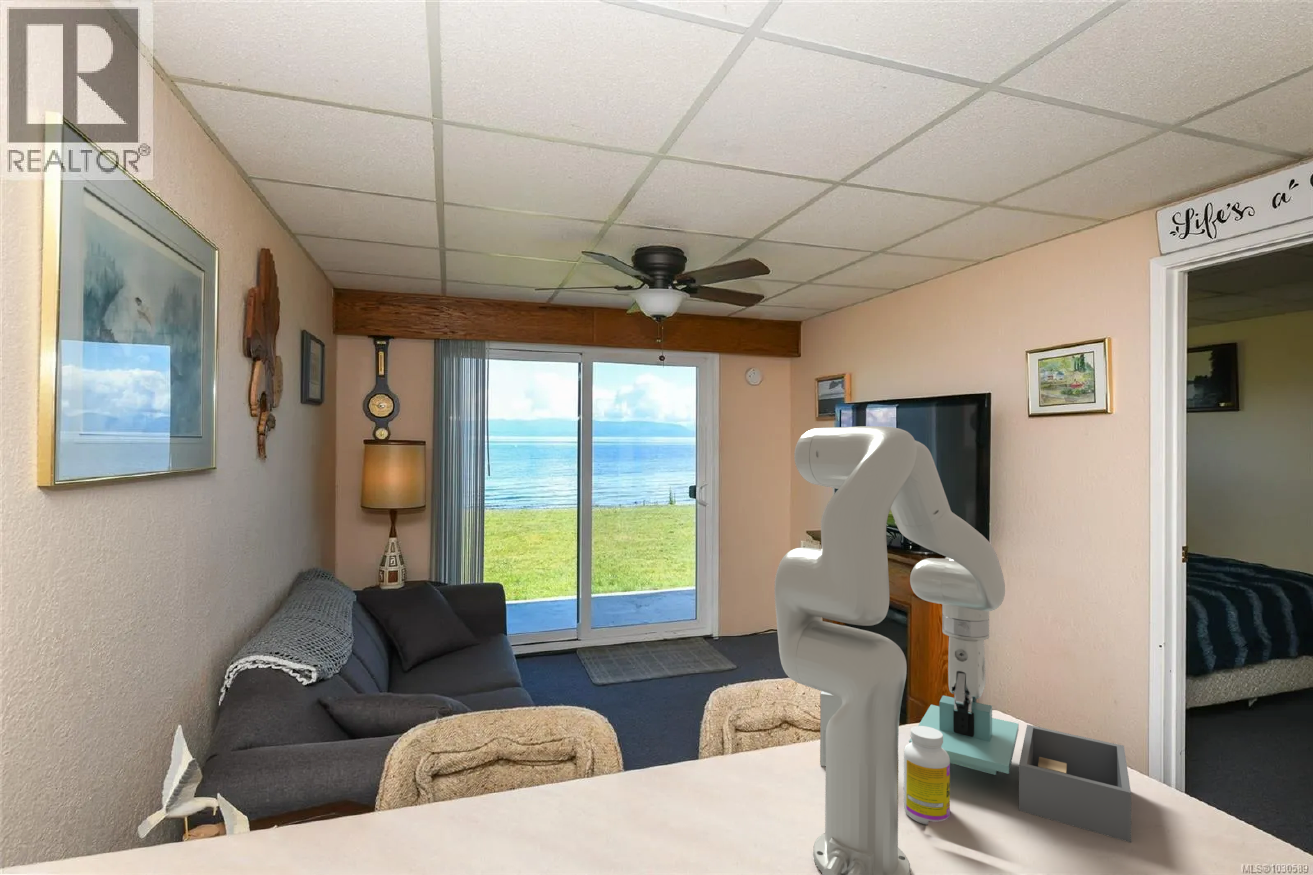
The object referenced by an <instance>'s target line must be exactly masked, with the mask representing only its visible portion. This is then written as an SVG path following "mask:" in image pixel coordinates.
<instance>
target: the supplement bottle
mask: <svg viewBox="0 0 1313 875" xmlns="http://www.w3.org/2000/svg"><path fill="white" fill-rule="evenodd" d="M910 739H911V740H912V742H911V743H909V742H908V743H907V744H906V745H905V747H904V749H903V750H904V751H903V809H904V811H905V813H906V815H907V816H908V817H909V818H911V819H912V820H913V821H916V822H917V823H920V824H922V825H929V822H943V821H945V820H948V819H949V818H950V814H951V801H950V800H951V773H950V772H951V771H950V770H951V768H950V767H951V763H950V758H949V755H948V753H947V752H946V751H945V750H944V749H943V748H941V746H942V744H943V734H942V733H941V732H940V731H938V730H937V729H934V728H931V727H927V726H918V725H916V726H915V725H914V726H912V727H910Z"/></svg>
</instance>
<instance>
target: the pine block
mask: <svg viewBox="0 0 1313 875" xmlns="http://www.w3.org/2000/svg"><path fill="white" fill-rule="evenodd" d="M1038 767H1041V768H1045V769H1049V770H1053V771H1057V772H1061V773H1065V774H1067V763H1063V762H1059V761H1055V760H1051V759H1047V758H1042V757H1039V762H1038Z"/></svg>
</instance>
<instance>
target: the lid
mask: <svg viewBox="0 0 1313 875" xmlns="http://www.w3.org/2000/svg"><path fill="white" fill-rule="evenodd" d="M966 701H967V700H966ZM967 702H968V701H967ZM938 704H939V705H935V704H930V706H929V707H928V708H927V710H926V712H925V714H924V716H922V718H921V721H920V722H919V723H918V725H917V726H927V727H931V728H934V729H937V730H938V731H940V732H941V733H942V734H943V744H942V746H941V748H943V749H944V750H945V751H946V752H947V753H948V755H949V758H950V764H953V765H957V766H961V767H964V768H967V769H971V770H975V771H979V772H983V773H986V774H987V773H988V774H991V775H994V776H995V775H997V772H999V773H1004V774H1010V772H1011V771H1010V769H1011V766H1012V760H1013V756H1014V753H1015V747H1016V743H1017V739H1018V735H1019V731H1020V730H1019V726H1020V725H1019V722H1012V721H1008V720H1004V719H1001V718H994V717H993V705H991V704H986V703H981V702H972V713H974V736H973V737H970V736H966V735H961V734H957V733H955V732H954V727H953V710H954V696H953V697H952V696H948V695H941V698H940V700H939V703H938ZM911 742H912V740H911V738H910V739H909V740H908V744H909V743H911Z"/></svg>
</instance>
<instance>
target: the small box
mask: <svg viewBox="0 0 1313 875" xmlns="http://www.w3.org/2000/svg"><path fill="white" fill-rule="evenodd" d="M819 696H820V698H819V700H820V711H819V712H820V713H819V715H820V716H819V720H820V722H819V723H820V724H819V726H820V729H819V730H820V731H819V732H820V733H819V736H820V738H819V740H820V743H819V747H820V748H819V751H820V752H819V754H820V755H819V756H820V757H819V765H820V767H825V766H826V728H827V725H828V722H829V720H830V719H831V717H832V716H833V715H834V714H835V713H836V712H837V711H838V710H839V709H840V707H841V706H842V700H841V699H840V698H839V697H837V696H834V695H831V694H829V693H826V692H823V691H820V694H819Z"/></svg>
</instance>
